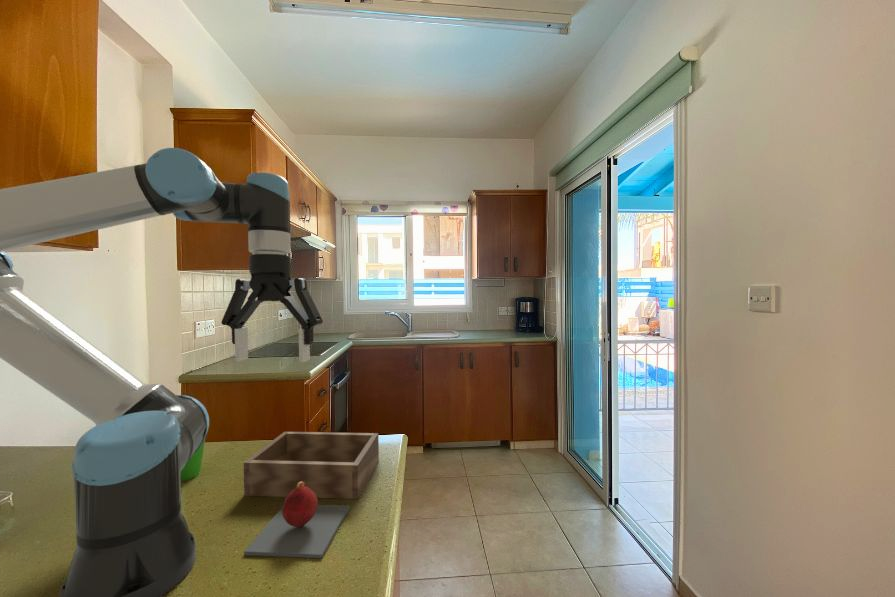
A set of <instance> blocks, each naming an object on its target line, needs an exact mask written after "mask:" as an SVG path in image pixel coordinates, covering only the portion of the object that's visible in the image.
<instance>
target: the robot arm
mask: <svg viewBox="0 0 895 597" xmlns="http://www.w3.org/2000/svg"><path fill="white" fill-rule="evenodd" d="M289 186H290V185H289V182H288V181H287V179H285V177H283V176H282V175H278V174H276V173H271V172H252V173H249V174H248V175H247V177H246V180H245V183H233V182H225V181H224V182H222V181H220V179H219V178H218V177H217V176H216V175H215V173H214V171H213V170H212V169H211V168H210V166H209V165H207V164H206V162H205V161H203V160H202V159H200V158H199V157H198V156H197V155H195V154H194V153H192V152H190V151H189V150H186V149H183V148H178V147H165V148H162V149H159V150H157V151H156V152H155V153H153V154H152V155H151V156H150V157H149V158H148V159H147V160H146V163H140V164H137V165H136V164H135V165H130V166H124V167H119V168H114V169H108V170H102V171H97V172H91V173H85V174H79V175H73V176H68V177H63V178H61V177H60V178H57V179H52V180H45V181H39V182H35V183H28V184H22V185H17V186H11V187H5V188H0V359H2V360H3V361H5V363H8V365H10V366H12V367H13V368H14V369H16V370H18V371H19V372H21V373H22V374H23V375H24V376H26V377H28V378H29V379H30V380H32V381H33V382H35V383H36V384H38V385H40V386H41V387H42V388H44V389H45V390H46V391H47V392H49V393H50V394H53V395H54V396H55V397H56V398H58V399H60V400H61V401H63V402H64V403H65V404H67V405H69V407H72V408H73V409H75V411H77V412H79V413H80V414H81V415H83V416H85V417H86V418H87V419H89V420H90V421H92V422H93V423H94V424H95V426H93V427H92V428H90V429H89V430H88V431H86V432H84V434H82V436H80V438H79V439H78V440H77V442H76V444H75V447H74V451H73V452H74V453H73V454H74V455H73V461H72V464H71V471H72V476H73V486H74V488H73V490H74V509H75V511H74V513H75V532H76V533H75V534H76V535H75V536H76V538H75V539H76V548H75V551H74V553H73V556H72V560H71V562H70V565H69V566H70V567H69V570H68V575H67V577H66V579H65V580H64V582H63V583H62V586H61V589H60V591H59V597H163V596H164V595H165V594H166V593H168V592H170V591H171V590H172V589H173V588H175V587H176V586H177V585H178V584H179V583H180V582H181V581H183V579H185V577H186V576H187V575H188V574H189V572H190V571H191V569H193V566H194V565H195V561H196V558H197V550H196V548H197V547H196V539H195V537H194V535H193V534H192V533H191V531H190V529H189V526H188V523H187V520H186V519H185V516H184V514H183V512H182V502H181V500H182V499H181V498H182V496H181V495H182V494H181V493H182V492H181V487H182V486H181V481H180V474H181V471H182V469H183V468H184V466H185V465H186V464H187V462H188V461H189V459H190V458H191V457H192V455H193V454H194V453H195V452H196V451H197V450H198V449H199V448H200V446H201V445H202V443H203V441H204V439H205V440H206V436H207V434H208V432H209V429H210V428H209V427H210V417H209V413H208V411H207V409H206V406H205V405H204V404H203V403H202V402H201V401H199V400H198V399H196V398H194V397H193V396H189V395H183V394H181V395H180V394H175V393H174V392H172V391H171V390H170V389H169V388H167V387H166V386H165V385H163V384H162V383H151V384H150V383H144V382H143V381H142V380H140V379H139V377H136V376H135V375H134V374H132V373H131V372H130V371H128V370H127V369H125V368H124V367H123V366H122V365H120V364H119V363H117V362H116V361H115V360H114V359H112V358H111V357H110V356H108V354H106V353H105V352H103V351H102V350H101V349H99V348H98V347H96V345H94V344H92V343H91V342H89V341H88V340H87V339H86V338H84V337H83V336H82V335H80V334H79V333H78V332H76V331H75V330H74V329H73V328H71V327H70V326H68V325H67V324H65V323H64V321H62V320H60V319H59V318H57V317H56V316H55V315H53V313H51V312H50V311H48V310H47V309H46V308H44V307H43V306H42V305H40V304H39V303H37V302H36V301H35V300H34V299H32V298H31V297H30V296H28V295H27V294H25V293H24V292H23V291H24V290H23V289H24V285H25V280H24V279H23V277H21V276H20V275H18V273H16V272H14V270H13V267H14V263H13V260H11V258H10V256H9V255H8V253H6V251H7V252H8V251H10V250H14V249H19V248H24V247H28V246H32V245H37V244H41V243H45V242H51V241H54V240H59V239H63V238H68V237H72V236H76V235H77V236H78V235H81V234H85V233H89V232H93V231H98V230H103V229H106V228H107V229H108V228H110V227H116V226H117V227H118V226H119V225H124V224H129V223H134V222H138V221H142V220H147V219H152V218H155V217H159V216H166V215H171V214H173V216H174V217H175V218H176V219H178V220H181V221H188V222H195V223H222V224H223V223H224V224H225V223H227V224H229V223H230V224H241V225H242V224H246V225H247V226H248V230H247V231H248V232H247V233H248V238H247V239H248V243H247V244H248V252H249V253H251V254H250V255H249V256H248V269H249V270H248V272H249V273H250V276H251V277H250V279H247V278H246V279H245V278H238V279H236V280H235V285H234V291H233V294H232V295H231V298H230V300H229V302H228V305H227V308H226V310H225V312H224V315H223V316H222V319H221V325H223V326H228V327H230V329H231V343H232V345H234V351H235V352H234V356H235V357H234V359H235V361H234V362H242V361H245V360H248V359H249V344H248V343H249V342H248V341H249V339H248V327H246V325H245V324H246V323H247V322H248V320H249V319H250V318H251V317H252V315H253V314H254V312H255V311H256V310H257V308H259V306H260V304H261V303H263V302H279V303H281V304H283V305H284V306H285V308H286V309H287V310H288V311H289V312H290V314H291V315H292V316H293V317H294V319H296V321H297V322H298V323H299V324H300V326H301V328H298V362H299V363H305V362H308V361H310V360H311V351H310V350H311V348H310V346H311V345H312V344H313V343H314V328H315V327H316V326H319V325H321V324H323V321H324V320H323V318H322V316H321V314H320V312H319V310H318V308H317V305H316V304H315V302H314V300H313V298H312V295H311V294H310V292H309V289H308V285H307V283H308V282H307V280H306V278H301V277H299V278H298V277H295V279H292V278H291V273H292V258H291V257H290V253H292V251H291V248H292V247H291V245H292V244H291V198H290V188H289ZM288 254H289V255H288ZM250 289H251V290H252V292H251V293H250V295H249V296H248V294H249V290H250ZM291 289H294V290H295V293H296V296H297V298H298V300H299V302H300V303H301V305H300V303H298V301H297V300H296V299H295V298H296V297H295V296H294V295H293V294H292V293H291V292H290V290H291ZM247 296H248V297H247ZM246 298H247V299H246ZM245 301H246V302H245Z"/></svg>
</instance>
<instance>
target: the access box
mask: <svg viewBox="0 0 895 597" xmlns="http://www.w3.org/2000/svg"><path fill="white" fill-rule="evenodd" d="M379 448H380V447H379V433H378V432H375V433H374V432H371V433H370V432H327V431H326V432H321V431H317V432H316V431H283V432H282V433H281V434H279V435H278V436H277V437H275V438H274V439H272V441H271V442H269V443H268V444H266V445H265V446H263V447H262V448H261V449H259V450H258V451H257V452H255V453H254V454H253V455H252V456H250V457H249V458H248V459H247V460H245V461H244V462H243V492H244V494H243V495H244V496H248V497H250V496H251V497H279V498H280V497H281V498H283V497H284V498H286V497H287V495H288V494H289V493H290V492H291V491H292V490H293V489H295V488H296V486H297V484H298V483H299V482H301V481H302V482H304V483H305V484H304V486H306V487H308V488H310V489H311V490H312V491H314V493H315V494H316V496H317V499H347V500H349V499H351V500H359V498H360V497H361V495H362V493H363V491H364V489H365V488H366V485H367V484H368V482H369V480H370V478H371V477H372V475H373V472H374V470H375V469H376V466H377V465H378V463H379V460H380V457H379V454H380V452H379V451H380V450H379Z"/></svg>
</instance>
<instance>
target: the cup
mask: <svg viewBox="0 0 895 597" xmlns="http://www.w3.org/2000/svg"><path fill="white" fill-rule="evenodd" d="M205 442H206V438H205V439H204V441H203V443H202V445H201V446H200V448H199V449H198V450H197V451H196V452H195V453H194V454H193V455H192V457H191V458H190V459H189V461H188V462H187V464H186V465H185V466H184V468H183V469H182V471H181V474H180V482H184V481H188V480H191V479H194V478H195V477H197V476H198V475H199V474H200V472H201V468H202V462H203V461H202V460H203V454H204V448H205Z"/></svg>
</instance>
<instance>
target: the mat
mask: <svg viewBox="0 0 895 597" xmlns="http://www.w3.org/2000/svg"><path fill="white" fill-rule="evenodd" d="M282 509H283V506H282V507H281V508H280V509H279V510H278V511H277V513H275V515H274V516H273V517H272V518H271V520H270V521H269V522H268V523H267V524H266V525H265V526H264V528H263V529H262V530H261V531H260V532H259V533H258V535H257V536H256V537H255V538H254V539H253V540H252V541H251V543H250V544H249V545H248V546H247V547H246V549H245V550H244V551H243V555H244V556H257V557H259V556H260V557H278V558H279V557H282V558H284V557H285V558H286V557H287V558H305V559H306V558H310V559H322V558H323V557H324V555H325V554H326V552H327V550H328V548H329V546H330V545H331V543H332V541H333V539H334V537H335V535H336V534H337V532H338V530H339V528H340V526H341V524H342V523H343V521H344V519H345V518H346V516H347V514H348V513H349V510H350V505H341V504H340V505H337V504H335V505H334V504H317V510H316V512H315V514H314V516H313V517H312V519H311V520H310V521H309V522H307V523H306V524H305V525H304V526H303V527H294V526H291V525H289V524H288V523H287V522H286V521H285V519H284V517H283V514H282Z"/></svg>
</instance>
